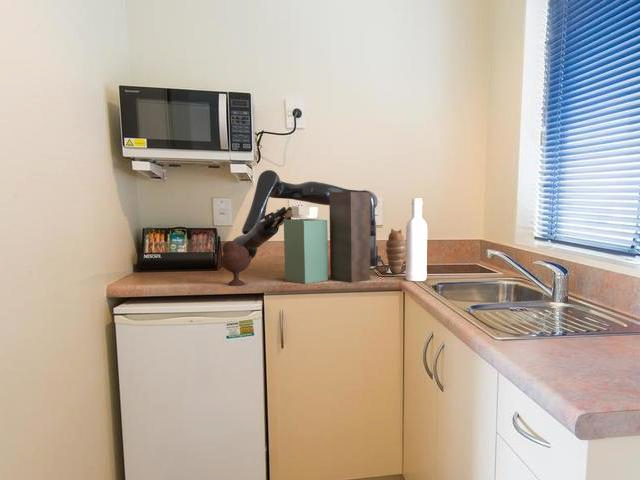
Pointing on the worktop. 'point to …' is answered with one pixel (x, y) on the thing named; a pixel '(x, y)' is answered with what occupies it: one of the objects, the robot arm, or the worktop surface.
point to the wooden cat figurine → (395, 250)
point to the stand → (349, 236)
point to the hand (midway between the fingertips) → (288, 209)
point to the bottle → (416, 244)
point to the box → (306, 250)
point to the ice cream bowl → (235, 260)
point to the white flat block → (302, 212)
